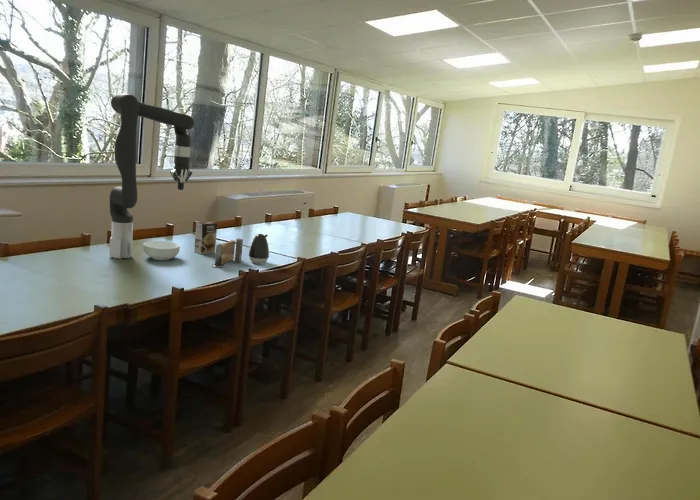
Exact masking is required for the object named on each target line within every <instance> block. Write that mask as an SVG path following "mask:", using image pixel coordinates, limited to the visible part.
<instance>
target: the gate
mask: <svg viewBox="0 0 700 500" xmlns="http://www.w3.org/2000/svg"><path fill="white" fill-rule="evenodd" d="M221 244H222V255H221V265H224V264H227V263H228V262H230V261H231V262H232V261H233V260H235V251H236V240H233V239H232V240H228V241H226V242H223V243H221Z"/></svg>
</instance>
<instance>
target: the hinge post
mask: <svg viewBox="0 0 700 500" xmlns="http://www.w3.org/2000/svg"><path fill="white" fill-rule="evenodd" d="M222 244H223V243H216V247H215V259H214V263H213V264H212V268H216V269H221V268H224V264H222V265H221V255H222Z"/></svg>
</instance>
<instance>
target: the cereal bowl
mask: <svg viewBox="0 0 700 500" xmlns="http://www.w3.org/2000/svg"><path fill="white" fill-rule="evenodd" d="M142 245H143V247H142V248H143V252H144V254H145V255H147V256H148V257H150V258H152V259H153V260H155V261H169V260H170V259H173V258H175V257H177V256H178V254H179V253H180V248H181V245H180V244H179V243H176V242H173V241H168V240H167V241H166V240H150V241H145V242H144V243H143V244H142Z"/></svg>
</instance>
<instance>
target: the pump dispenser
mask: <svg viewBox="0 0 700 500" xmlns="http://www.w3.org/2000/svg"><path fill="white" fill-rule="evenodd" d="M267 239H268V234H262V233H257V234H256V235H255V236H254V238H253V239H252V241H251V244H250V247H249V252H248V257H249V260H250V261H251V262H252V263H253V264H256V265H264V264H265V263H266V262H267V261H268V259H269V258H270V250H269V249H270V248H269V243H268V240H267Z"/></svg>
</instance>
